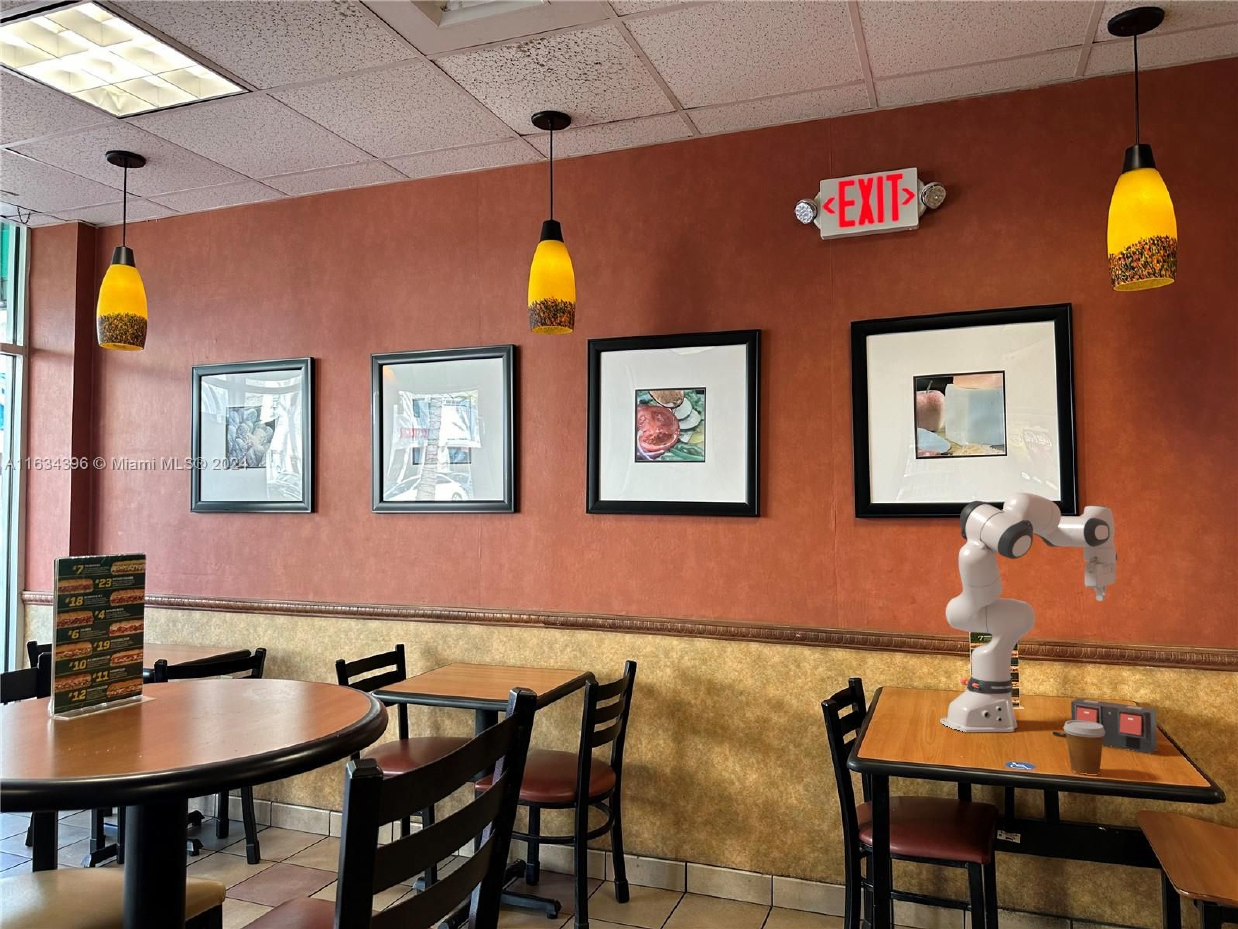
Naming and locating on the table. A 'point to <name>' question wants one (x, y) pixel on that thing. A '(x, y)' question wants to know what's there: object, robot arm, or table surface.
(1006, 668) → the robot arm
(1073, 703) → the double rocker switch box
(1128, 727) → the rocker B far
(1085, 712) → the rocker
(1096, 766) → the disposable coffee cup
